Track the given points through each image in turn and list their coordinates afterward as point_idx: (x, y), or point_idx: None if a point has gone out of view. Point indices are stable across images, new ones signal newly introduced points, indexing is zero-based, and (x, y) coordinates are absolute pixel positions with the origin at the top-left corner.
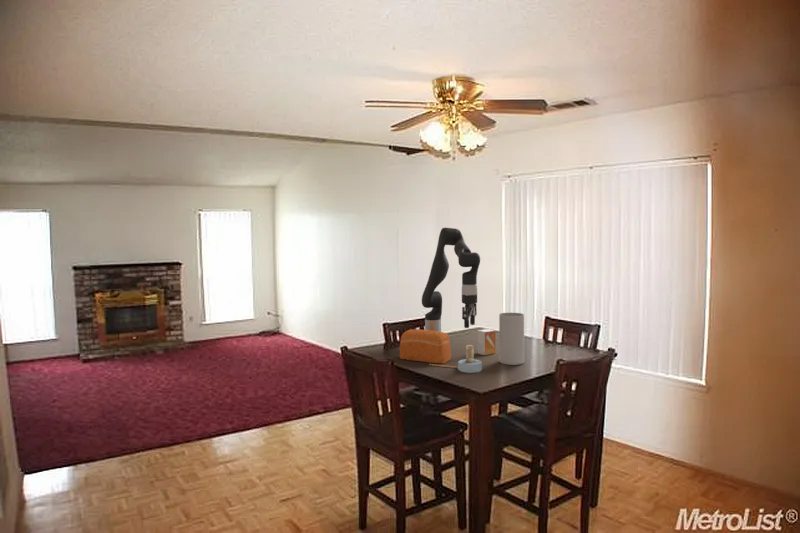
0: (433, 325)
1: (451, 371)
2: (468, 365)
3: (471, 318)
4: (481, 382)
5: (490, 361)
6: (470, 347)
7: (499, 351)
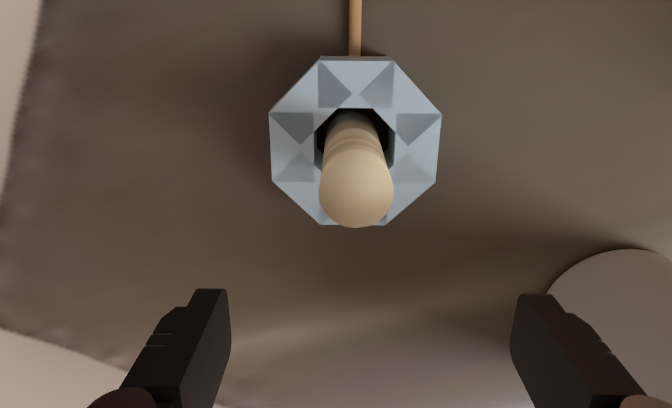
0: None
1: (257, 26)
2: (271, 163)
3: (569, 400)
4: (125, 274)
5: (611, 192)
6: (324, 206)
7: (643, 287)
